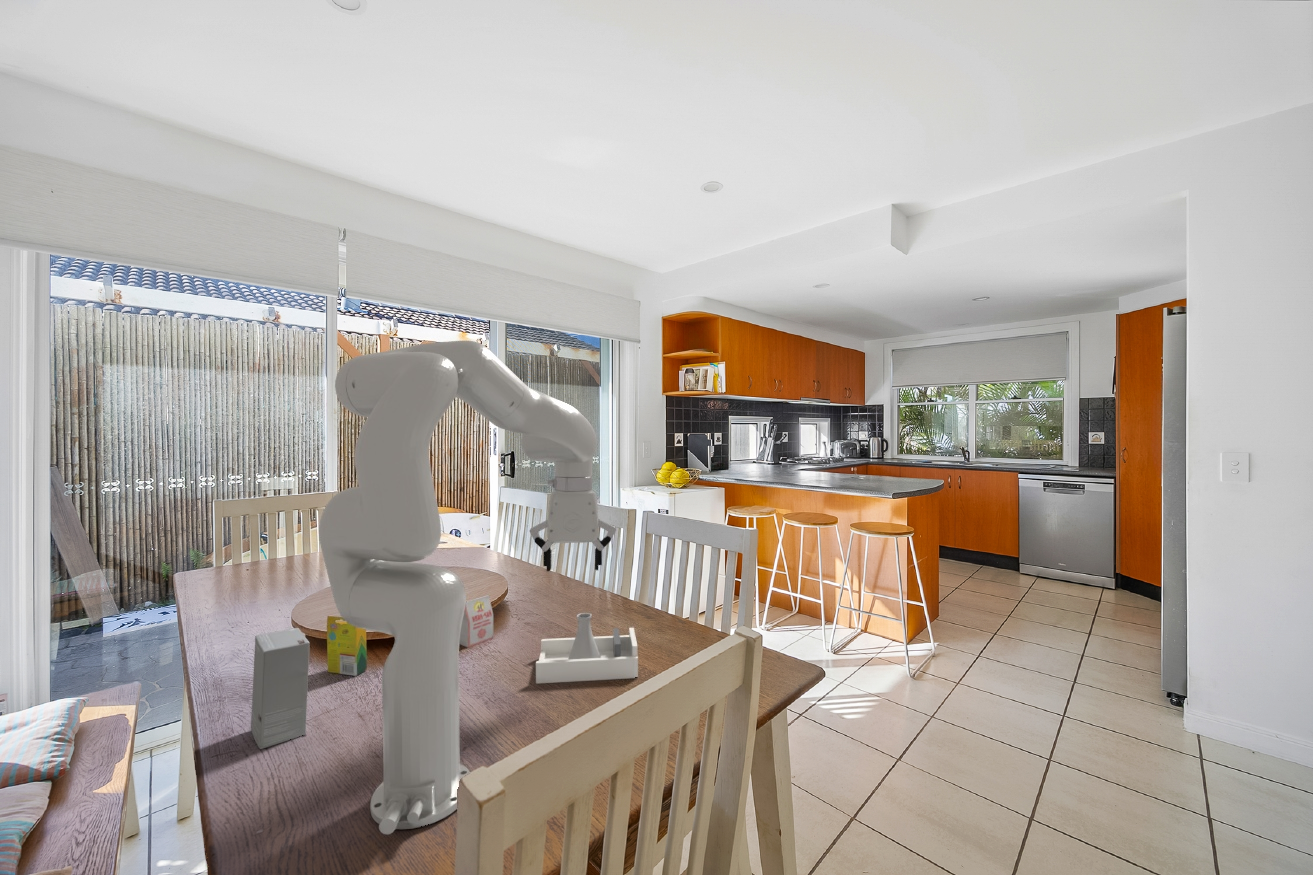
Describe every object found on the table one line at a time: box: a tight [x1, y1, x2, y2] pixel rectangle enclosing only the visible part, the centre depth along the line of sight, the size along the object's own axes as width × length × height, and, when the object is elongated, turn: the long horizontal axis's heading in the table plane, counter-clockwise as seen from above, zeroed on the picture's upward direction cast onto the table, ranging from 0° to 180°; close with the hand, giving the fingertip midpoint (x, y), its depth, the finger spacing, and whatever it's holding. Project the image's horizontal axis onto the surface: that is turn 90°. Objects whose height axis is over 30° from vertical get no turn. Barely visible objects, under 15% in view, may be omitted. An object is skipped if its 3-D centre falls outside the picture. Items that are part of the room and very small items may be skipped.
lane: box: [535, 627, 639, 685], centre depth 113 cm, size 12×20×6 cm, turn 97°
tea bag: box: [459, 594, 494, 649], centre depth 127 cm, size 4×7×10 cm, turn 143°
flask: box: [568, 612, 601, 659], centre depth 113 cm, size 7×7×10 cm
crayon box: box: [326, 615, 368, 677], centre depth 111 cm, size 7×3×12 cm, turn 74°
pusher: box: [612, 627, 621, 657], centre depth 114 cm, size 9×1×5 cm, turn 7°
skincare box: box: [250, 627, 311, 750], centre depth 89 cm, size 8×7×16 cm
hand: (572, 569), depth 110 cm, fingers open, 9 cm apart
